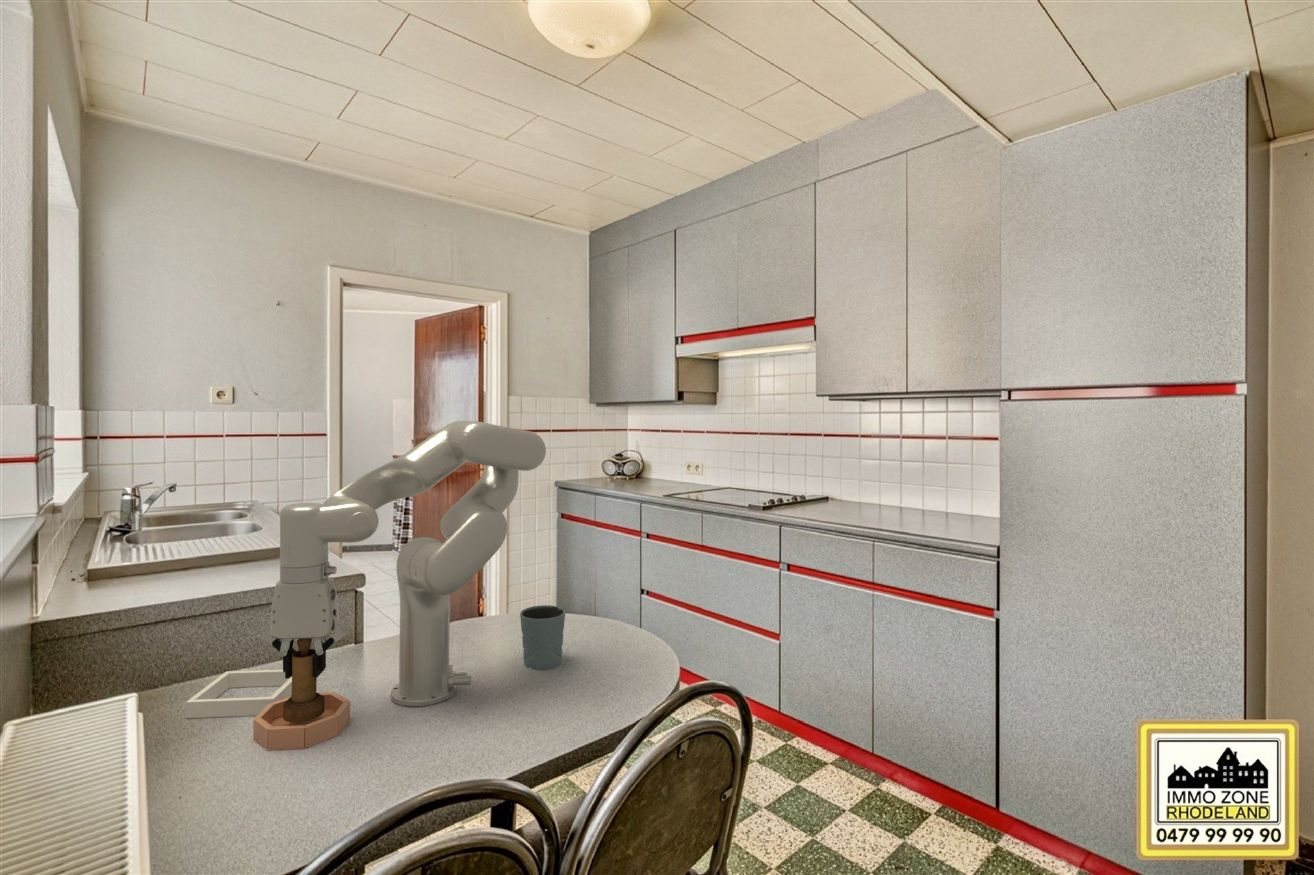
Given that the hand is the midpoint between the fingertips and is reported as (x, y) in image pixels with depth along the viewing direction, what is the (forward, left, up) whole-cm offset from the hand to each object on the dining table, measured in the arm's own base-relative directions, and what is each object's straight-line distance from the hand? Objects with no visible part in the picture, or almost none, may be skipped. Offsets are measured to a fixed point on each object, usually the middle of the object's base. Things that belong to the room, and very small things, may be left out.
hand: (304, 673), depth 113 cm
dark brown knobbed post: (0, 0, -7) cm, 7 cm away
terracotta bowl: (0, 0, -10) cm, 10 cm away
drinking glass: (-41, -27, -10) cm, 50 cm away
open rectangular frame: (+15, -13, -10) cm, 22 cm away
